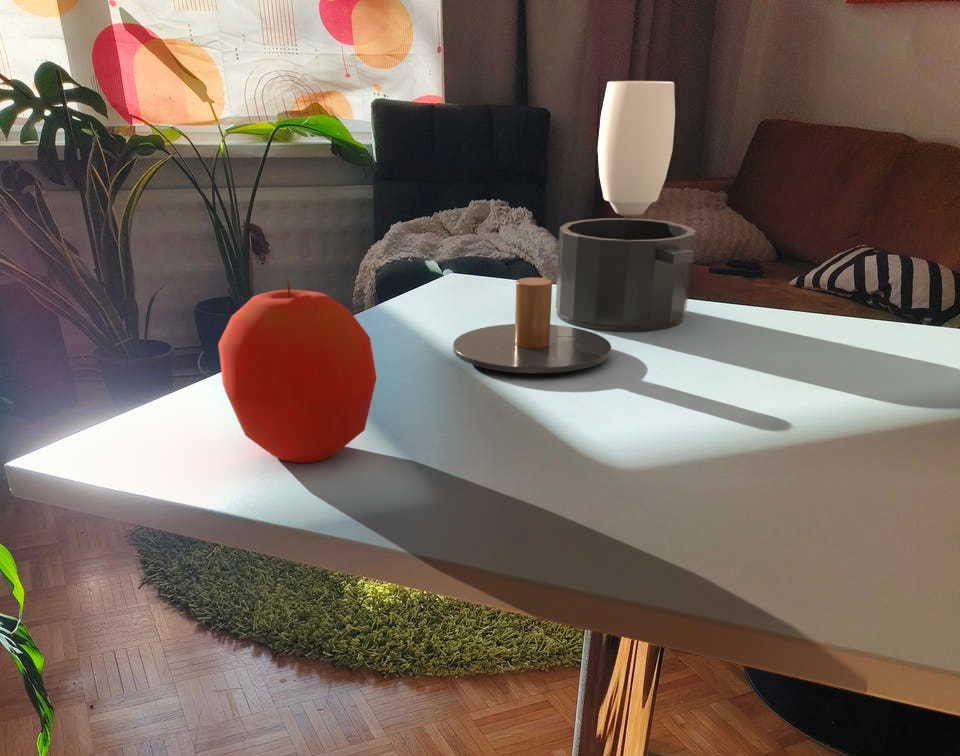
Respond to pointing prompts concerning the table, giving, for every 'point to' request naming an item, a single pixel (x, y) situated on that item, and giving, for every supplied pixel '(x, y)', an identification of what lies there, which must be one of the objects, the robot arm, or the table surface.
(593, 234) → the pot
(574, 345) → the lid
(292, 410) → the apple
